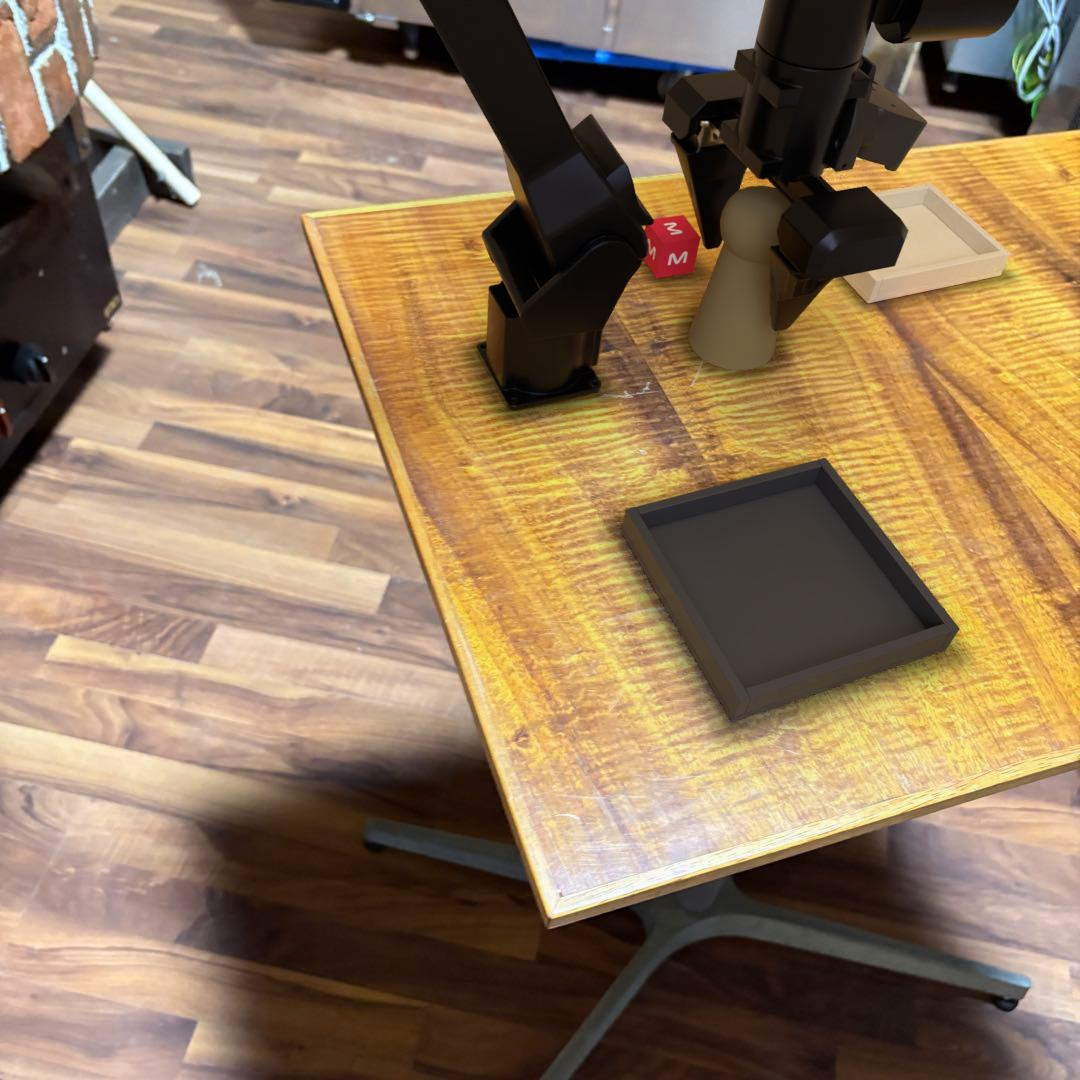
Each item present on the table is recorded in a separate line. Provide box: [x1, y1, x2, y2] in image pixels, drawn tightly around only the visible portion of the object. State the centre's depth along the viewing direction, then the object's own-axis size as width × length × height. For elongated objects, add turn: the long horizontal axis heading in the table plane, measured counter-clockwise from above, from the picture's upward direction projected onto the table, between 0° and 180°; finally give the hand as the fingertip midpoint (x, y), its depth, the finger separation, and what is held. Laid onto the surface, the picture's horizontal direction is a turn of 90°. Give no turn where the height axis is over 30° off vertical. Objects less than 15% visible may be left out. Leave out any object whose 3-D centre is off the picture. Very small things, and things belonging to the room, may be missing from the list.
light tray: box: [842, 182, 1012, 304], centre depth 79 cm, size 12×10×2 cm
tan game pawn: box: [687, 185, 792, 371], centre depth 66 cm, size 6×6×11 cm
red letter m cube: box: [643, 214, 702, 279], centre depth 75 cm, size 3×3×3 cm
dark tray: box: [621, 457, 961, 723], centre depth 56 cm, size 13×13×2 cm
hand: (744, 286), depth 67 cm, fingers open, 9 cm apart
